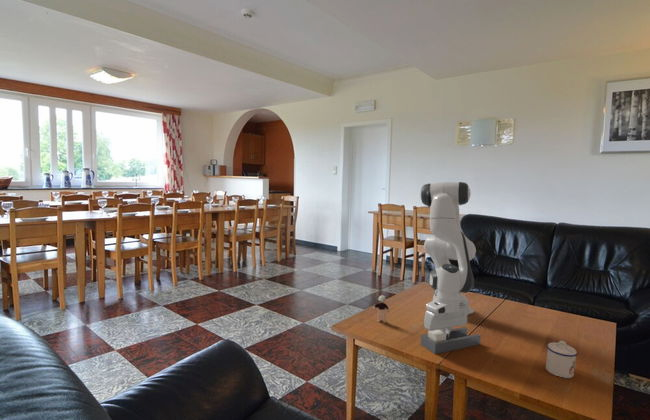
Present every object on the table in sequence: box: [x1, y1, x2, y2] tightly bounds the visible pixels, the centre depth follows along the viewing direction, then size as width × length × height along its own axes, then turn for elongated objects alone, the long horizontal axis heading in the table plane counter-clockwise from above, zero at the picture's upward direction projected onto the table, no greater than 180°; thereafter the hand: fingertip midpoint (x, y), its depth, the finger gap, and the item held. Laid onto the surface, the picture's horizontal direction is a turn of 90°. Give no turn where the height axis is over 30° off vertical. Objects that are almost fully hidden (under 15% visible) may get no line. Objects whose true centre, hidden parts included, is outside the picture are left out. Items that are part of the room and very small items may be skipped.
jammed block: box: [427, 330, 446, 342], centre depth 147 cm, size 5×5×5 cm
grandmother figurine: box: [372, 294, 390, 324], centre depth 171 cm, size 8×4×13 cm, turn 84°
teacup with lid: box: [545, 340, 578, 379], centre depth 132 cm, size 12×9×12 cm
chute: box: [420, 326, 482, 355], centre depth 150 cm, size 24×9×4 cm, turn 114°
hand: (445, 337), depth 149 cm, fingers closed
